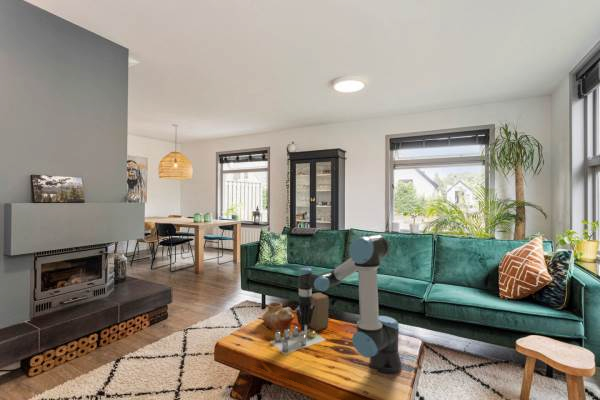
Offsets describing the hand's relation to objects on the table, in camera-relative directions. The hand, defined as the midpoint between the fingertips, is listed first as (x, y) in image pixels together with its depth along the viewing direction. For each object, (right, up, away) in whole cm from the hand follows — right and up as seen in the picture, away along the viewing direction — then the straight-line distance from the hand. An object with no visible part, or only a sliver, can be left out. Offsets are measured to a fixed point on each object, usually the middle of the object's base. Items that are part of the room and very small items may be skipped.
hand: (304, 335), depth 168 cm
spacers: (-8, -1, -6) cm, 10 cm away
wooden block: (+9, -3, +18) cm, 20 cm away
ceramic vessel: (-16, -2, +15) cm, 22 cm away
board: (-4, -3, -3) cm, 5 cm away
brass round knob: (+4, -2, +2) cm, 5 cm away
